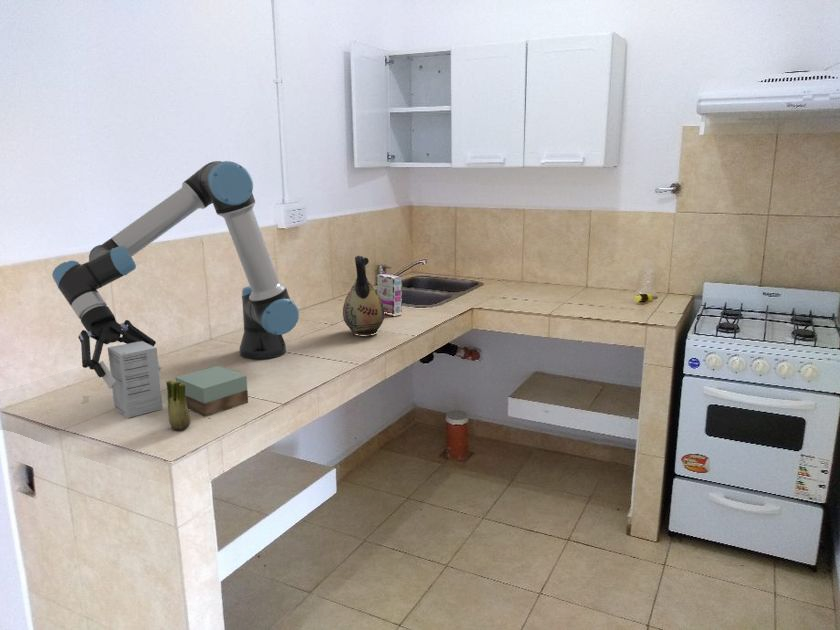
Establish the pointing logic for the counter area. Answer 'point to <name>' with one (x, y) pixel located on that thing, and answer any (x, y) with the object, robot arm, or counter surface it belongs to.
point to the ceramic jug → (363, 303)
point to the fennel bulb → (177, 406)
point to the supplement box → (135, 378)
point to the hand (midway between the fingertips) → (136, 377)
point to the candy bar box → (390, 292)
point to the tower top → (212, 383)
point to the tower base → (217, 404)
